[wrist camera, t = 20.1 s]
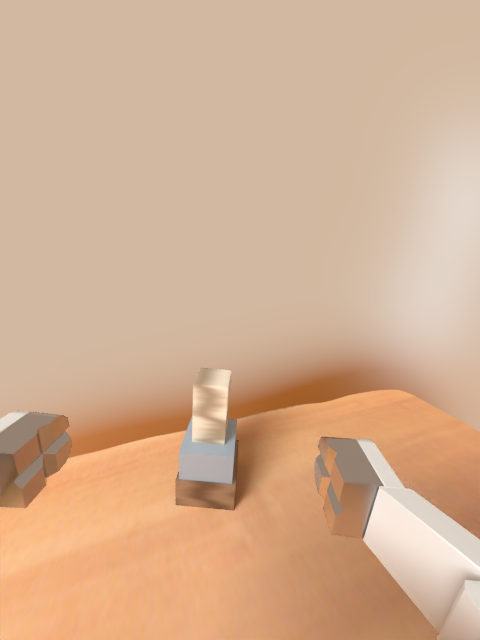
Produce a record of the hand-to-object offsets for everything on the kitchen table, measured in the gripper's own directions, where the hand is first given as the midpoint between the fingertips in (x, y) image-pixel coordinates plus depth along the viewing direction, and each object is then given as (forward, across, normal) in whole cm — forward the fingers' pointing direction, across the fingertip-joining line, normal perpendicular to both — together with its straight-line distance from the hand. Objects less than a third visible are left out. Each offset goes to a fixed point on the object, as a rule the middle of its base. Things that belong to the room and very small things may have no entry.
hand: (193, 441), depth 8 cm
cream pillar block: (+26, +2, +22) cm, 34 cm away
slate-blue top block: (+25, +2, +27) cm, 37 cm away
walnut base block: (+25, +2, +32) cm, 41 cm away
